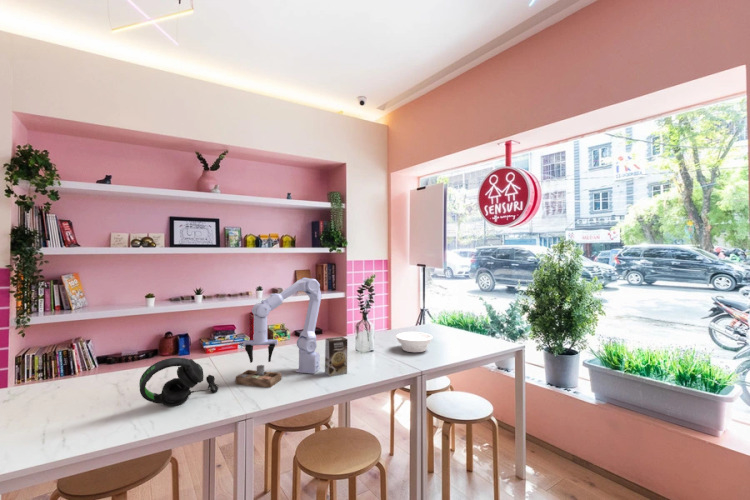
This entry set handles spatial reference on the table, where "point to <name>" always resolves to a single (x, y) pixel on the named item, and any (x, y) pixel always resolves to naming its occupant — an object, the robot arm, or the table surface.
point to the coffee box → (335, 356)
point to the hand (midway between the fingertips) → (260, 361)
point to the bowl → (414, 341)
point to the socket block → (258, 378)
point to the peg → (260, 370)
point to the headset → (175, 382)
